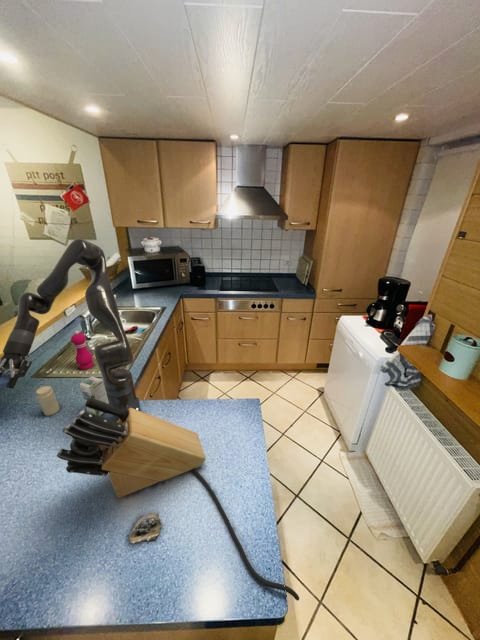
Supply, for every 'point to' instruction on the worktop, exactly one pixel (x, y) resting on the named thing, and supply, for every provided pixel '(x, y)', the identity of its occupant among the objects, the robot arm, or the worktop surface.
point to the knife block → (129, 448)
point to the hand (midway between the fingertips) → (2, 387)
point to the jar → (47, 400)
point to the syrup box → (94, 392)
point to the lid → (4, 380)
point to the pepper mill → (82, 351)
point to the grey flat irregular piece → (146, 528)
